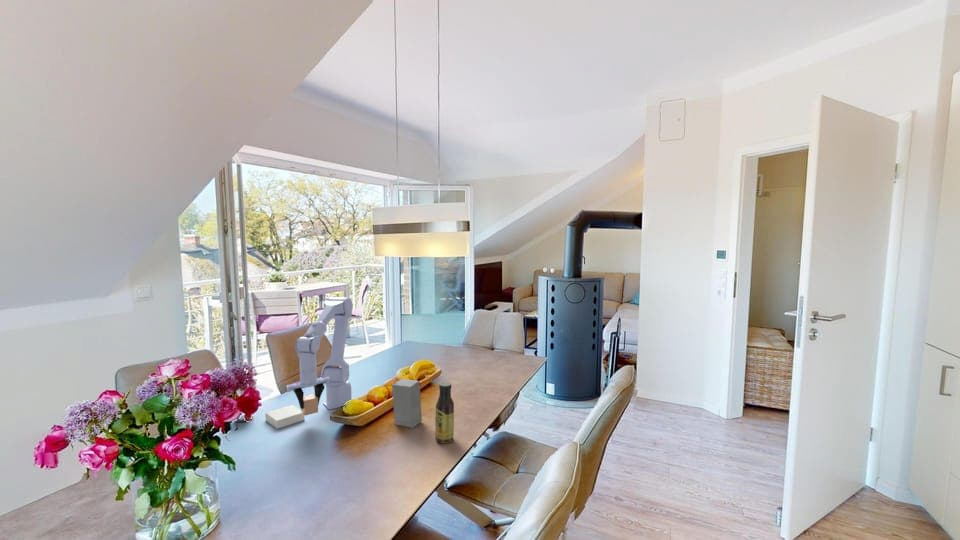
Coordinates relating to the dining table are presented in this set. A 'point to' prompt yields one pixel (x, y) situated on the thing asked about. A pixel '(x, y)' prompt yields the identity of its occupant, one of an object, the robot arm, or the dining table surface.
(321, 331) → the robot arm
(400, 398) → the skincare box
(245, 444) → the dining table surface
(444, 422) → the sauce bottle
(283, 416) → the marble slab
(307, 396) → the wooden block
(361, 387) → the dining table surface
